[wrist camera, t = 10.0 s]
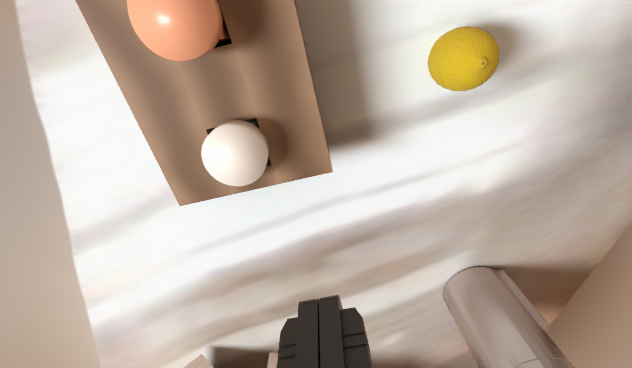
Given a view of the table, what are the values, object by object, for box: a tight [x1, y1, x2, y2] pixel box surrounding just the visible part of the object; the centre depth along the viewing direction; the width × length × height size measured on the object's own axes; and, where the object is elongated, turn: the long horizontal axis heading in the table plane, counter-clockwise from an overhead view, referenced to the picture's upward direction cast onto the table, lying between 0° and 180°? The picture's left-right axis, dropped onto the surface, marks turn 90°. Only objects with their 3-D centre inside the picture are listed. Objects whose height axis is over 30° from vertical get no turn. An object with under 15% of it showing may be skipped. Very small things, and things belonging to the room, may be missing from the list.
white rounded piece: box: [201, 118, 269, 186], centre depth 30 cm, size 6×6×8 cm
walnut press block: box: [76, 0, 333, 206], centre depth 29 cm, size 16×20×7 cm
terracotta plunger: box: [127, 0, 231, 61], centre depth 24 cm, size 6×6×8 cm
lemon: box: [428, 27, 499, 91], centre depth 29 cm, size 6×6×8 cm
